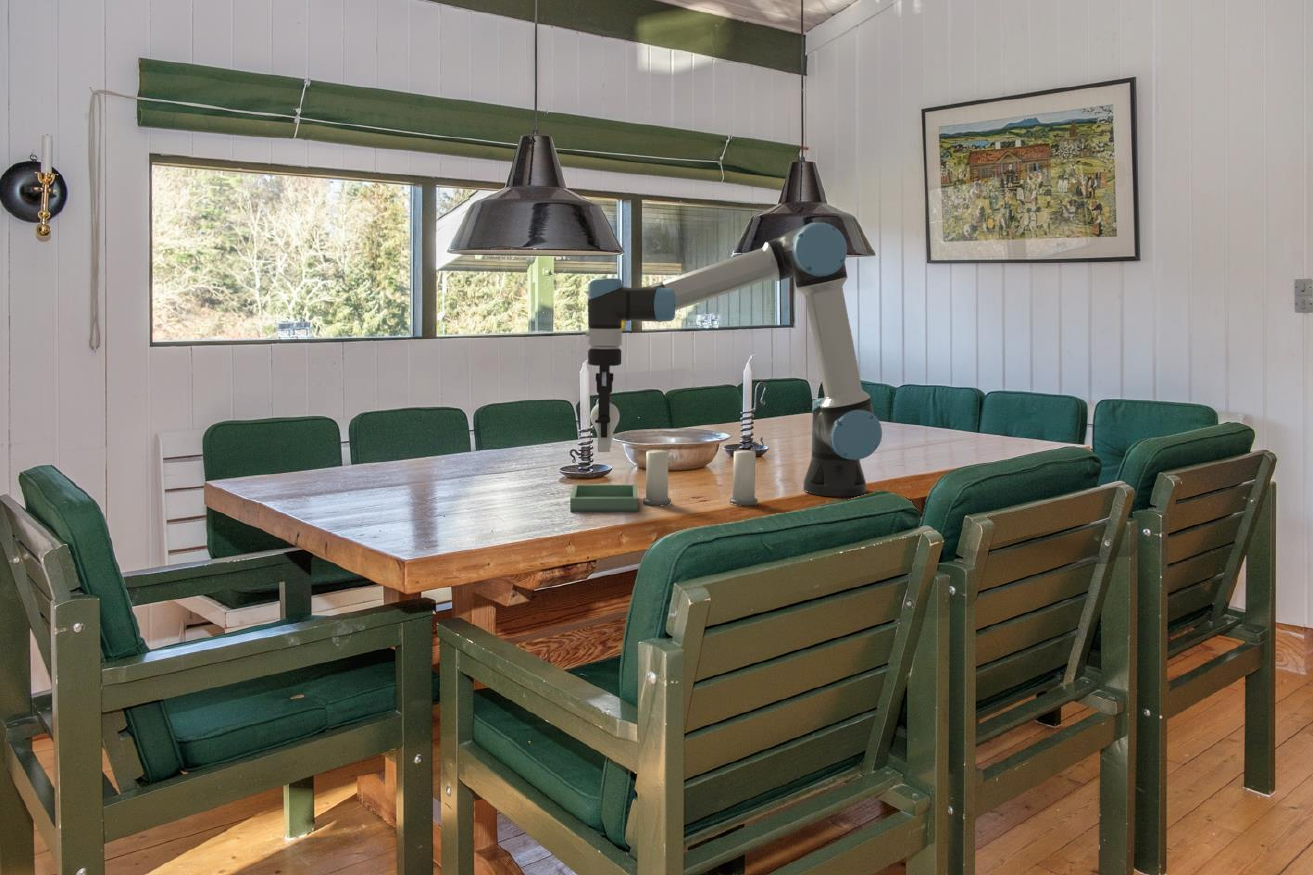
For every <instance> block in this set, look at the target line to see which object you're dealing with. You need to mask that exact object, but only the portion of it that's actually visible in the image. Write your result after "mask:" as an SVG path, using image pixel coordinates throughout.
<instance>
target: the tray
mask: <svg viewBox="0 0 1313 875" xmlns="http://www.w3.org/2000/svg"><path fill="white" fill-rule="evenodd" d="M638 499H639V498H638V486H637V484H573V486H572V491H571V494H570V499H569V500H570V508H569V509H570V513H572V512H573V513H575V512H576V513H577V512H579V513H589V512H592V513H595V512H596V513H604V512H605V513H607V512H608V513H616V512H617V513H622V512H623V513H626V512H628V513H637V512H638V507H639V506H638V505H639V504H638Z"/></svg>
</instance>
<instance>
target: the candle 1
mask: <svg viewBox="0 0 1313 875" xmlns="http://www.w3.org/2000/svg"><path fill="white" fill-rule="evenodd" d="M645 454H646V456H645V458H646V459H645V460H646V462H645V465H646V466H645V469H646V470H645V476H646V477H645V479H646V480H645V483H646V484H645V497H644V498H643V499H642V505H644V504H645V506H648V505H650V506H651V507H662V506H661V505H667V506H669V505H668V504H670V503H671V504H672V499H671V497H669V451H667V450H661V449H652V450H646V453H645ZM671 504H670V505H671ZM650 506H649V507H650Z"/></svg>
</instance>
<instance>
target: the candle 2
mask: <svg viewBox="0 0 1313 875" xmlns="http://www.w3.org/2000/svg"><path fill="white" fill-rule="evenodd" d="M756 456H757V454H756V451H754V450H745V449H744V450H734V451H733V465H732V466H733V467H732V469H733V472H732V474H733V475H732V477H733V480H732V485H733V486H732V497H730V498H729V504H730V503H733V504H737V505H741V506H740V507H754V506H753V505H755V504H756V503H757V502H759V501H758V498H757V497H756V495H755V494H756V459H757V458H756ZM751 505H752V506H751ZM755 506H756V505H755Z"/></svg>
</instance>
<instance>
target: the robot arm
mask: <svg viewBox="0 0 1313 875" xmlns="http://www.w3.org/2000/svg"><path fill="white" fill-rule="evenodd" d="M847 253H848V245H847V242H846V239H845V236H844V234H842V232H841V231H840V230H839V229H838V228H837V227H835V225H834V226H833V225H832V224H830V223H827V222H821V221H820V222H819V221H817V222H815V221H814V222H810V223H807V224H804V225H801V226H798V227H796V228H794V229H792V230H790V231H788V232H786V233H785V234H782V235H781V236H779V237H776V238H773V239H772V240H768V241H765V242H764V244H763V246H762V247H761V248H758V249H755V250H751V251H750V252H749V251H748V252H745V253H743V254H740V255H737V256H734V257H731V258H728V259H725V260H721V261H718V262H716V263H712V264H710V265H707V266H706V265H705V266H703V267H701V268H698V269H695V270H692V271H689V272H686V273H685V272H684V273H683V274H680V275H677V276H674V277H670V278H668V279H665V280H662V281H659V282H656V283H652V284H650V285H647V286H642V287H627V286H624V285H623V280H622V279H621V278H617V277H616V278H615V277H613V278H612V277H611V278H610V277H607V278H605V277H596V278H592V279H590V281H589V282H588V291H587V292H588V293H587V294H588V295H587V324H588V325H587V327H588V328H587V330H588V331H587V332H585V334H584V336H585V338H586V337H588V339H587V340H588V341H587V345H588V346H589V348H588V349H587V363H588V365H589V366H595V367H596V366H599V370H598V371H599V372H596V373H595V382H596V393H597V394H598V404H599V413H598V420H595V423H598V436H597V453H611V448H610V423H609V422H610V403H611V394H612V393H613V382H614V373H613V372H610V370H611V368H610V367H616V366H621V364H622V350H621V348H620V347H622V345H623V338H622V337H623V333H622V332H623V328H622V322H629V321H630V322H658V323H663V322H672V321H673V320H674V319H675V316H676V311H678V310H681V309H683V308H687V307H690V306H693V305H696V304H699V303H702V302H705V301H708V300H709V301H710V300H711V299H714V298H718V297H720V296H723V295H728V294H729V293H734V292H736V291H740V290H741V289H745V288H748V287H751V286H754V285H757V284H760V283H763V282H766V281H770V280H773V281H775V282H780V281H783V280H785V279H789V278H794V282H795V286H796V289H797V290H798V291H799V292H800V293H802V294H803V295H804V299H805V303H806V307H807V313H808V318H809V324H810V328H811V334H812V338H813V344H814V348H815V354H816V358H817V363H818V368H819V374H820V378H821V384H822V389H823V394H824V397H821V398H816V399H814V401H813V403H812V404H813V405H812V410H811V414H812V424H811V428H812V429H811V459H810V462H809V465H808V469H807V471H806V474H805V476H804V480H803V489H804V490H806V491H808V492H811V493H812V494H811V495H815V496H816V495H817V496H823V497H838V498H839V497H841V498H843V497H844V498H845V497H857V496H862V495H865V494H866V493H867V482H866V479H865V476H864V471H863V469H862V465H861V460H862V459H866V458H867V457H869V456H871V455H872V454H873V453H875V451H876V450H877V448H878V447H879V446H880V444H881V441H882V437H883V430H882V429H883V428H882V425H881V422H880V421H879V419H878V417H877V416H876V415H875V414H874V408H873V403H872V398H871V395H870V394H869V393H868V392H866V391H865V390H863V387H862V382H861V378H860V377H861V376H860V372H859V371H860V370H859V366H858V361H857V355H856V351H855V345H854V340H853V335H852V331H851V330H852V329H851V325H850V320H849V319H850V318H849V313H848V310H847V309H848V308H847V304H846V299H845V294H844V288H843V287H844V284H845V283H846V281H847V279H848V273H847V267H846V266H847V265H846V263H845V262H846V259H847ZM804 490H803V491H804Z"/></svg>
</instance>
